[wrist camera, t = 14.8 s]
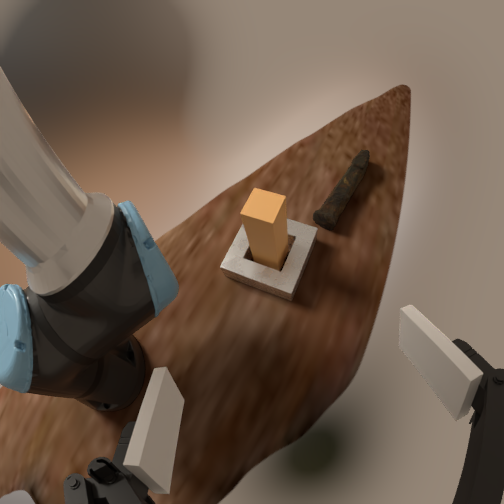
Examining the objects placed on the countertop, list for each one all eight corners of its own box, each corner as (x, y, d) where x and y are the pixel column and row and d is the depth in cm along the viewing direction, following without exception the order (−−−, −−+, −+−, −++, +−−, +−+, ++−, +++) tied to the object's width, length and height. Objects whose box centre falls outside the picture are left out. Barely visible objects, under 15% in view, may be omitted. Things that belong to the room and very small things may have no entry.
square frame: (225, 275, 45) (220, 266, 42) (254, 219, 49) (251, 207, 46) (291, 301, 42) (291, 293, 38) (316, 239, 46) (317, 228, 42)
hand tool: (331, 235, 46) (335, 219, 42) (311, 223, 47) (312, 207, 43) (377, 168, 51) (382, 152, 47) (360, 159, 53) (363, 142, 49)
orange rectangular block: (255, 264, 45) (240, 213, 33) (265, 243, 46) (254, 187, 34) (278, 273, 44) (272, 223, 31) (288, 251, 45) (285, 196, 33)
